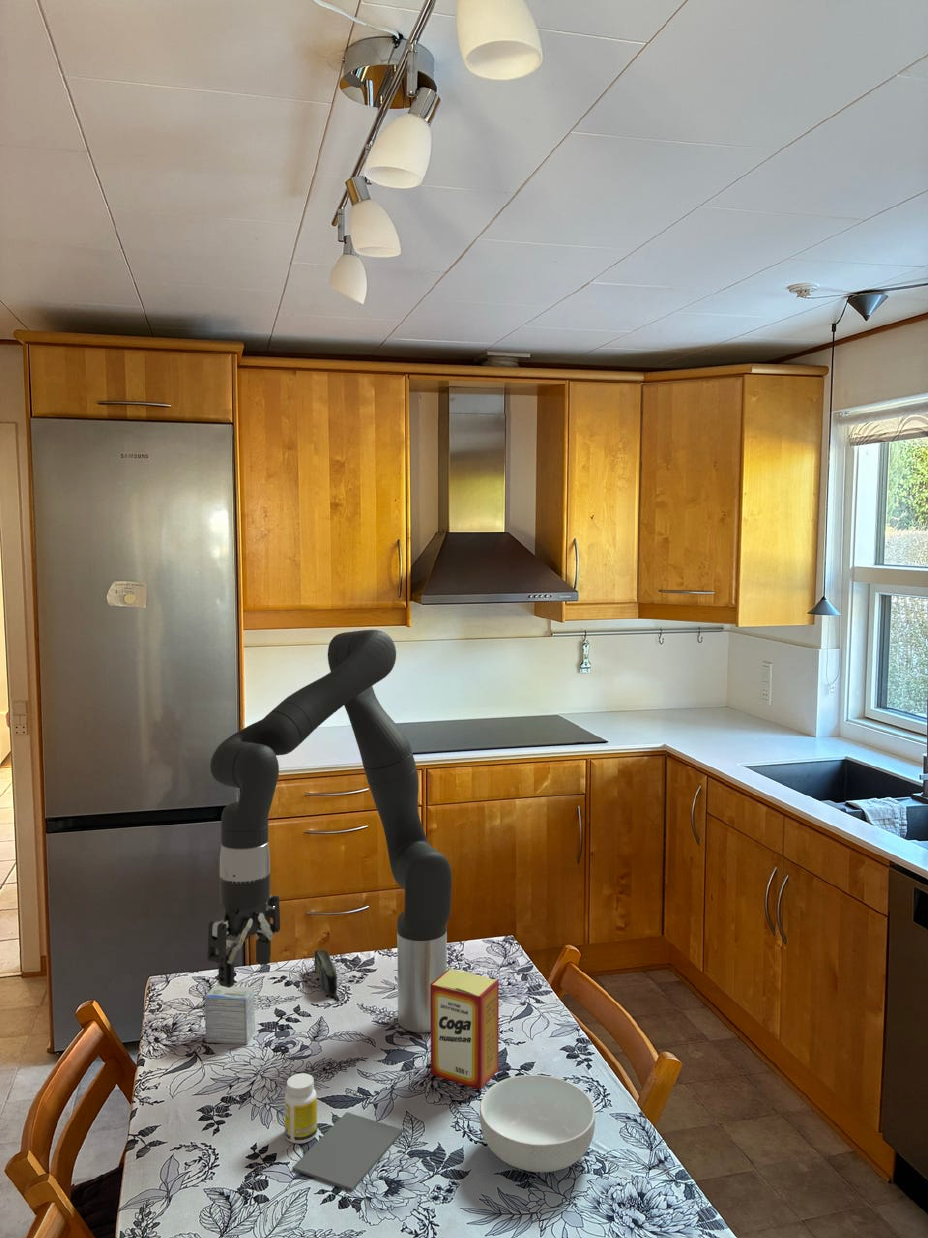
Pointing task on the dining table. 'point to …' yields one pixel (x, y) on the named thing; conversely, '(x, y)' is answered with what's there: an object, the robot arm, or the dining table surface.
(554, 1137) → the cereal bowl
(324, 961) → the dark green elongated piece
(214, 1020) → the medicine box
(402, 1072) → the dining table surface
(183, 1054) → the dining table surface
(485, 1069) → the baking soda box
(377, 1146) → the mat
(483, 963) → the dining table surface
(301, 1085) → the supplement bottle
